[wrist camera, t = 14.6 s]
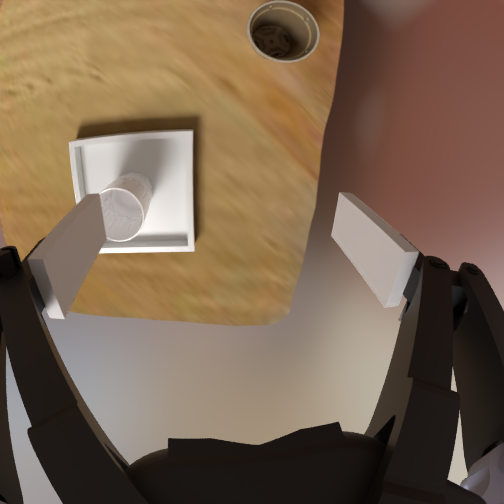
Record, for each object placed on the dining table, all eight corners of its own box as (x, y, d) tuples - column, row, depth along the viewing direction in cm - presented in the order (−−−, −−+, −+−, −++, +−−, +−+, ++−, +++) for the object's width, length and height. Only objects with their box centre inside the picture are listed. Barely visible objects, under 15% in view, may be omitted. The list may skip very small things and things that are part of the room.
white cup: (109, 169, 41) (86, 189, 33) (155, 167, 42) (141, 186, 34) (114, 214, 45) (95, 242, 37) (157, 212, 46) (146, 241, 38)
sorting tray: (76, 138, 38) (68, 141, 35) (193, 128, 41) (192, 130, 38) (91, 245, 48) (86, 253, 46) (194, 242, 51) (194, 251, 49)
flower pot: (226, 38, 34) (231, 26, 27) (272, 6, 32) (286, -12, 24) (268, 79, 39) (282, 76, 31) (312, 46, 36) (333, 38, 29)
